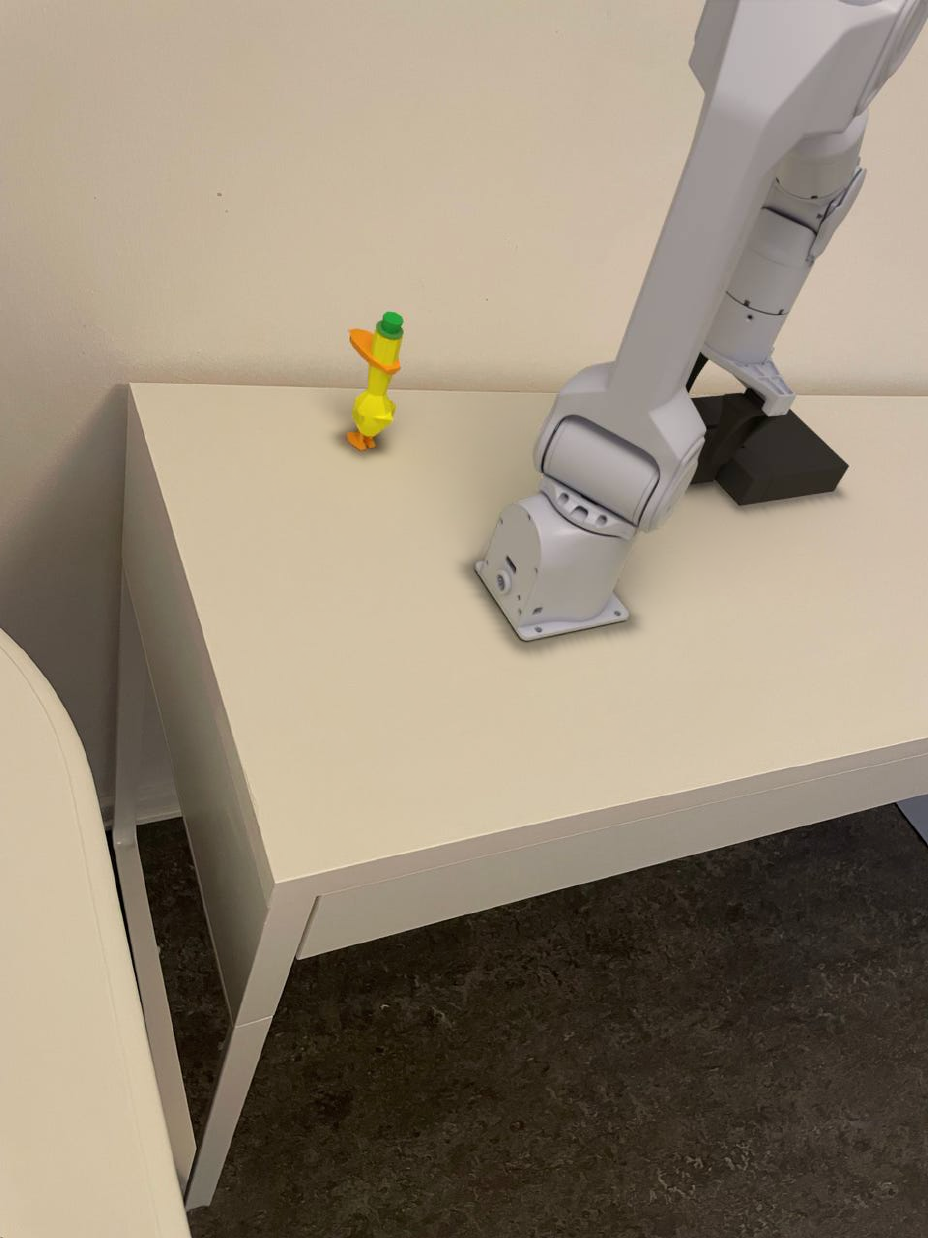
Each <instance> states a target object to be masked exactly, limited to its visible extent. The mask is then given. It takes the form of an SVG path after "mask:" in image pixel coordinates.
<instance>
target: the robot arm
mask: <svg viewBox="0 0 928 1238" xmlns="http://www.w3.org/2000/svg"><path fill="white" fill-rule="evenodd" d="M927 20H928V0H705V3H704V5H703V8H702V11H701V14H700V18H699V20H698V24H697V26H696V30H695V33H694V36H693V37H694V38H693V39H694V40H693V41H694V44H693V47H692V50H691V53H690V56H689V59H688V66H689V68H690V70H691V72H692V73H693V75H694V77H695V79H696V80H697V82H698V84H699V86H700V87H701V89H702V90H703V92H704V97H703V100H702V105H701V109H700V112H699V116H698V118H697V119H698V120H697V123H696V127H695V131H694V134H693V138H692V141H691V145H690V149H689V151H688V154H687V157H686V160H685V163H684V165H683V169H682V172H681V174H680V177H679V179H678V182H677V185H676V188H675V191H674V194H673V197H672V199H671V202H670V205H669V206H668V207H669V208H668V211H667V213H666V217H665V219H664V222H663V224H662V227H661V230H660V233H659V236H658V238H657V241H656V243H655V247H654V249H653V253H652V255H651V258H650V261H649V264H648V267H647V269H646V271H645V275H644V278H643V281H642V283H641V286H640V289H639V292H638V294H637V297H636V300H635V303H634V305H633V306H634V307H633V308H632V311H631V313H630V316H629V319H628V322H627V325H626V328H625V331H624V334H623V336H622V339H621V342H620V345H619V348H618V350H617V353H616V357H615V359H614V360H612V361H611V360H610V361H606V362H600V363H595V364H591V365H588V366H586V367H584V368H582V369H580V370H579V371H578V372H577V373H575V374H574V375H573V376H571V378H569V379H568V380H567V381H566V382H565V384H564V385H563V386H562V387H561V388H560V389H559V391H558V392H557V394H556V396H555V399H554V401H553V404H552V407H551V409H550V411H549V412H548V413H547V416H546V417H545V419H544V421H543V422H542V425H541V427H540V429H539V431H538V433H537V436H536V438H535V441H534V445H533V448H532V459H533V460H532V461H533V468H534V470H535V471H536V472H537V473H539V474H542V477H541V480H540V482H539V485H538V489H539V490H537V491H536V492H535V493H534V494H532V495H530V496H527V497H525V498H523V499H521V500H518V501H514V502H511V503H509V504H507V505H506V506H505V507H504V508H503V509H502V510H501V512H500V514H499V516H498V518H497V522H496V524H495V528H494V531H493V534H492V536H491V539H490V542H489V545H488V548H487V552H486V555H485V557H484V560H479V561H477V562H476V563H475V565H474V570H475V571H476V572H477V574H478V575H479V577H480V579H481V580H482V581H483V583H484V585H485V586H486V588H487V589H488V591H489V592H490V594H491V596H492V597H493V598H494V600H495V602H496V603H497V604H498V606H499V608H500V610H501V611H502V613H504V615H505V617H506V618H507V620H508V622H509V623H510V625H511V626H512V627H513V629H514V631H515V632H516V633H517V635H518V636H519V638H520V639H521V640H523V641H534V640H538V639H543V638H546V637H547V638H548V637H552V636H556V635H562V634H566V633H571V632H575V631H579V630H584V629H585V630H586V629H589V628H594V627H599V626H603V625H608V624H613V623H618V622H623V621H626V620H628V618H629V616H630V614H629V611H628V610H627V608H626V607H625V606H624V604H623V603H622V601H621V600H620V598H618V596H617V595H616V594H615V592H614V590H615V587H616V586H617V585H616V584H617V583H618V580H619V578H620V576H621V574H622V573H623V571H624V568H625V565H626V563H627V561H628V559H629V557H630V555H631V553H632V551H633V549H634V546H635V545H636V542H637V540H638V538H639V536H640V534H641V532H642V533H644V534H650V533H651V532H654V531H657V530H660V529H661V528H662V527H663V526H664V524H666V522H667V521H668V519H669V518H670V517H671V515H672V514H673V513H674V511H675V509H676V508H677V506H678V505H679V503H680V502H681V500H682V498H683V496H684V495H685V493H686V491H687V489H688V487H689V486H690V485H691V484H690V482H691V480H692V478H693V475H694V473H695V471H696V468H697V465H698V461H697V460H698V457H699V454H700V451H701V449H702V447H703V444H704V442H705V439H704V435H705V433H706V427H705V425H704V423H703V421H702V419H701V417H700V415H699V413H698V411H697V409H696V407H695V406H694V404H693V402H692V400H691V398H692V397H690V391H691V390H692V387H693V385H694V383H695V382H696V380H697V378H698V376H699V375H700V373H701V372H702V371H703V369H704V367H705V366H706V365H707V363H708V362H709V361H711V362H712V363H714V364H715V365H717V366H719V367H720V368H722V369H723V370H725V371H726V372H728V373H729V374H731V375H732V376H733V377H734V378H735V380H736V381H738V382H739V383H740V384H741V385H742V386H743V387H744V388H745V390H744V392H731V393H724V394H723V395H724V396H723V398H722V411H721V417H720V421H719V424H718V428H717V431H716V433H715V436H714V438H713V440H712V442H711V444H710V447H709V449H708V451H707V454H706V458H705V461H706V462H707V464H708V465H710V466H713V465H721V464H726V463H727V462H728V461H729V460H730V459H731V457H732V456H733V455H734V454H735V453H736V452H737V451H738V450H739V448H740V447H741V446H742V445H743V444H744V443H745V442H746V441H747V440H749V439H750V438H751V437H752V436H753V435H754V434H755V433H757V432H758V431H759V430H760V429H762V428H763V427H765V426H766V425H768V424H769V423H770V422H772V421H774V420H775V419H777V418H779V417H780V416H782V415H786V414H787V412H788V410H789V408H790V409H791V407H792V405H793V403H794V401H795V399H796V397H797V394H796V392H795V391H794V390H793V389H792V388H791V387H790V386H789V385H788V383H787V382H786V380H785V379H784V377H783V376H782V374H781V372H780V370H779V368H778V367H777V365H776V363H775V362H774V360H773V358H772V355H773V354H774V351H775V347H774V344H775V342H776V340H777V338H778V336H779V334H780V333H781V331H782V328H783V326H784V324H785V322H786V321H787V318H788V316H789V315H790V313H791V311H792V309H793V307H794V305H795V303H796V300H797V298H798V297H799V294H800V292H801V290H802V288H803V287H804V284H805V283H806V280H807V279H808V277H809V275H810V273H811V271H812V269H813V267H814V265H815V262H816V260H817V259H818V258H819V257H820V256H822V254H824V253H825V250H826V249H827V247H828V246H829V244H830V242H831V241H832V238H833V236H834V234H835V233H836V231H837V229H838V228H839V227H840V226H841V224H842V223H843V221H844V220H845V219H846V217H847V216H848V214H849V212H850V211H851V209H852V207H853V206H854V203H855V201H856V200H857V198H858V195H860V192H861V190H862V187H863V185H864V183H865V180H866V177H867V173H868V169H867V168H865V167H864V168H863V167H862V166H860V163H861V160H862V159H861V156H860V153H861V149H862V146H863V141H864V137H865V132H866V130H867V125H868V121H869V115H870V113H869V112H870V111H869V105H870V104H871V103H872V101H873V100H874V99H875V97H876V96H877V95H878V94H879V92H880V91H881V90H882V88H883V86H884V85H885V84H886V83H887V81H888V80H889V79H890V78H892V77H893V76H894V75H895V73H896V72H898V69H899V68H900V67H901V66H902V64H903V62H904V61H905V60H906V58H907V56H908V55H909V53H910V52H911V50H912V48H913V46H914V45H915V43H916V41H917V39H918V38H919V35H920V34H921V32H922V31H923V28H924V26H925V25H926V23H927Z"/></svg>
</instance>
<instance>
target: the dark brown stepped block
mask: <svg viewBox="0 0 928 1238" xmlns="http://www.w3.org/2000/svg"><path fill="white" fill-rule="evenodd" d="M716 431H717V429H709V430H706V433H705V435H704V439H705V442H704V444H703V447H702V449H701V451H700V454H699V457H698V460H697V461H698V465H697V468H696V471H695V473H694V475H693V478H692V480H691V482H690V484H689V485H695V484H702V483H709V482H714V481H715V480H716V479H715V477H716V475H717V473H718V471H719V469H720V467H721V465H722V464H721V465H713V466H710V465H708V464H707V462H706V461H705V458H706V454H707V451H708V449H709V447H710V444H711V442H712V440H713V438H714V436H715V433H716Z"/></svg>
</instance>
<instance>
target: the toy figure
mask: <svg viewBox="0 0 928 1238" xmlns="http://www.w3.org/2000/svg"><path fill="white" fill-rule="evenodd" d="M404 323H405V321H404V318H403V316H402V315H400V313H397V312H395V311H386V312H385V313H383V314H382V319H380V320H379V321H377V323H376V325H375V329H374V331H373V333H372V331H370V330H366V329H361V328H357V327H355V328H350V329H347V331H348V333H349V343H350V344H351V346H352V348H353V349H354V350H355V351H356V352H357V354H358V355H359V356H360V357H361V358H362V359H363V360H364V361H366V363H368V370H367V388H366V390H364V391H363V392H361V393H360V394H359V395H358V396H356V397H355V398H354V401H353V407H352V412H351V413H350V416H351V418H352V419H353V421H354V424H355V426H356V427H357V431H356V432H355V431H349V432H347V433H346V439H347V441H348V442H349V444H351V445H352V446H353V447H355V448H356V449H358V450H360V451H361V452H362V451H365V450H367V447H368V448H369V449H372V448H376V443H375V440H374V437H375V436H377V435H378V434H379V433H381V432H382V431H383V430H384V429H385V428H387V427H388V426H389V425H390V424H392V423H393V422H394V421H395V419H394V418H393V417H394V415H395V412H396V410H397V406H396V404H395V402H394V401H393V399H391V400H390V398H389V397H388V394H387V391H388V389H389V386H390V384H391V381H392V378H393V375H396V374H397V373H398V372H399V371H400V370H401V368H402V365H401V362H400V358H399V356H400V351H401V346H402V343H403V337H404V333H405V332H404V331H405V330H404V328H403V327H402V326H403V324H404Z"/></svg>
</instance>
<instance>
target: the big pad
mask: <svg viewBox="0 0 928 1238" xmlns="http://www.w3.org/2000/svg"><path fill="white" fill-rule="evenodd" d="M723 396H724V394H719V395H708V396H707V395H706V396H698V397H696V396H695V397H690V398H691V400H692V402H693V404H694V406H695V407H696V409H697V411H698V413H699V415H700V417H701V419H702V421H703V423H704V425H705V427H706V430H709V429H717V428H718V424H719V421H720V417H721V411H722V398H723ZM849 467H850V465H849V464H848V463H847V461H845V460H844V459H843V458H842V457H841V456H840V455H839V454H838V453H837V452H836V451H835V450H833V448H832V447H831V446H830V445H828V444H827V442H825V441H824V439H822V437H820V436H819V435H818V434H817V433H816V432H815V431H814V430H813V429H812V428H811V427H810V426H808V425H807V424H806V422H805V421H804V420H802V419H801V418H800V417H799V416H798V415H797V414H796V413H795V412H794V411H793V410H792V409H791V407H790V408H789V410H788V412H787V414H786V415H782V416H780V417H779V418H777V419H775V420H774V421H772V422H770V423H769V424H768V425H766V426H765V427H763V428H762V429H760V430H759V431H758V432H757V433H755V434H754V435H753V436H752V437H751V438H750V439H749V440H747V441H746V442H745V443H744V444H743V445H742V446H741V447H740V448H739V450H738V451H737V452H736V453H735V454H734V455H733V456H732V457H731V459H730V460H729V461H728V462H727V463H726V464H722V465H721V467H720V469H719V471H718V473H717V475H716V477H715V479H714V480H716V481H717V483H719V485H720V486H721V487H722V488H723V489H724V490H725V491H726V492H727V494H728V495H729V496H730V497H731V498H732V499H733V501H735V503H737V504H738V505H739V506H744V505H752V504H758V503H765V502H772V501H777V500H785V499H791V498H796V497H804V496H809V495H815V494H821V493H822V494H823V493H828V492H834V491H836V488H837V487H838V486H839V484H840V482H841V481H842V479H843V477H844V476H845V474H846V472H847V471H848V469H849Z"/></svg>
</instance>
